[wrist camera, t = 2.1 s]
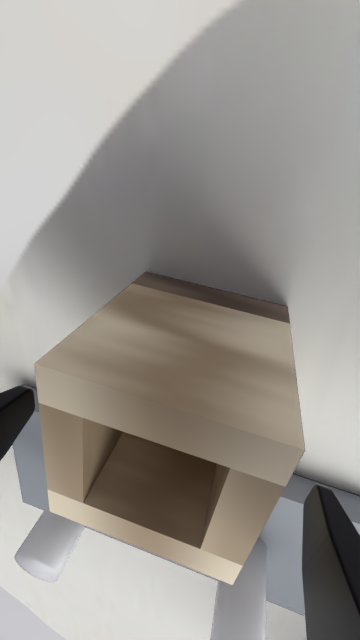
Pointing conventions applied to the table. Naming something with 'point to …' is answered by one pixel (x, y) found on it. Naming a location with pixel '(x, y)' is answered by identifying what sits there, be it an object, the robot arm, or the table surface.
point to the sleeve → (173, 421)
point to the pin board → (231, 600)
